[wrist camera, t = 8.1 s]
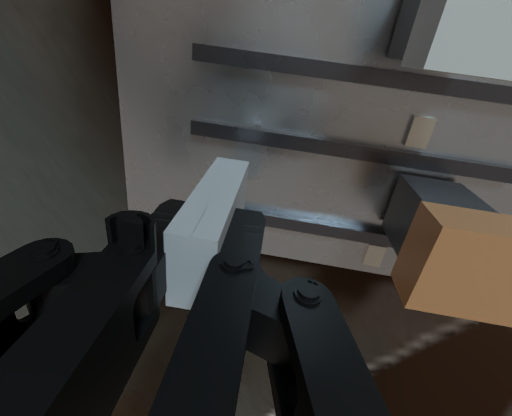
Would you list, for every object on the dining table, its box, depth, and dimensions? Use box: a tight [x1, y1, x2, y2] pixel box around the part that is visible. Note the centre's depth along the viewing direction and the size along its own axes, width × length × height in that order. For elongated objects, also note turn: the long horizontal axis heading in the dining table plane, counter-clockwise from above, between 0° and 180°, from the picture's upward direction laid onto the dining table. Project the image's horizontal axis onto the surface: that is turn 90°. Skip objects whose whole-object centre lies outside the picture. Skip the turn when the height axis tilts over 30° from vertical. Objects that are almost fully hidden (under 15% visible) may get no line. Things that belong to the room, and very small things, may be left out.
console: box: [111, 0, 512, 276], centre depth 15 cm, size 24×18×3 cm
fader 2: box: [382, 174, 512, 327], centre depth 13 cm, size 4×4×6 cm
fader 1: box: [387, 0, 512, 82], centre depth 10 cm, size 4×4×6 cm
